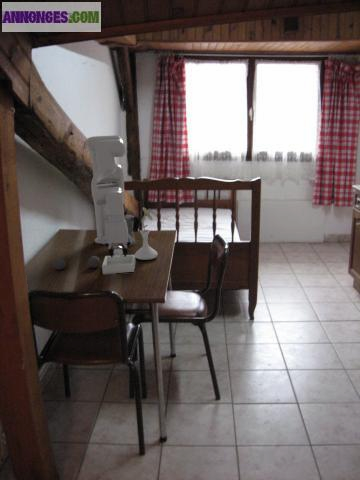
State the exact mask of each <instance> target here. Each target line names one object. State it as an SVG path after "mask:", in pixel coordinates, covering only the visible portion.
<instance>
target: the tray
mask: <svg viewBox="0 0 360 480" xmlns="http://www.w3.org/2000/svg"><path fill="white" fill-rule="evenodd" d="M135 268H136V257H135V254H126V257H124V255H123V256H122V257H120V258H117V257H115V256H114V255H113V257H111V255H105V256H104V259H103V263H102V265H101V269H102V275H117V274H116V273H123V272H134V273H135V270H134V269H135ZM123 274H124V273H123Z"/></svg>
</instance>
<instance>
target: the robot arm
mask: <svg viewBox="0 0 360 480" xmlns="http://www.w3.org/2000/svg"><path fill="white" fill-rule="evenodd" d="M85 141H86V148H87V151H88V152H89V154H90V156H91V164H92V176H93V177H92V179H91V184H90V187H91V197H92V201H93V205H94V213H95V214H94V215H95V225H96V236H97V237H96V238H95V239H94V242H95V243H96V244H98V245H99V244H101V245H104V246H105V247H106V248H108V251H109V252H108V253H109V254H108V256H111V257H113V256H114V255H113V253H112V250H113V248H114V247H113V246H112V245H113V244H115V245H116V244H119V243H123V244H124V246H123V248H124V257H126V255H129V254H128V247H130V246H129V245H130V244H131V243H132V242H133V241H134V239H133V238H132V237H131V236H130V235H129V234H128V228H127V223H126V220H124V212H125V210H124V200H125V176H124V175H125V173H124V169H123V166H122V165H121V164H118V163H116V160H115V158H122V157H124V156H125V155H126V145H125V142H124V140H123V139H122V137H121V136H119V135H116V134H115V135H97V136H90V137H88V138H87V139H86V140H85ZM128 238H129V239H130V241H129V242H128ZM127 242H128V243H127Z"/></svg>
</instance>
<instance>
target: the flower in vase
mask: <svg viewBox="0 0 360 480" xmlns="http://www.w3.org/2000/svg"><path fill="white" fill-rule="evenodd" d="M142 211H143V213H144V217H143V221H142V223H141V224H142V226H143V227H142V229H141V230H139V233H140V235H141V236H142V246H140V248H139V249H138V250H136V252H135V253H134V255H135V259H137V260H141V261H142V260H143V261H145V260H146V261H148V260H153V259H155V258H157V257H158V255H159V254H158V251H157V250H156V249H153V248H152V247H151V246H150V245H149V241H148V240H149V234H150V232H151V230H150V229H145V228H146V227H148V225H147V224H144V222H145V218H146V217H147V218H148V219H149V220H150V221H153V220H154V219H153V216H152V215H151V214H150V211H148V210H147V208H146V207H145V206H143V207H142Z"/></svg>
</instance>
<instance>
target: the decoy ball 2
mask: <svg viewBox="0 0 360 480" xmlns="http://www.w3.org/2000/svg"><path fill="white" fill-rule="evenodd" d="M87 263H88V265H89V267H90V268H92V269H95V268H98V267H99V266H100V265H101V260H100V258H99V257H98V256H97V255H93V256H90V257H89V258H88V261H87Z"/></svg>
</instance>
